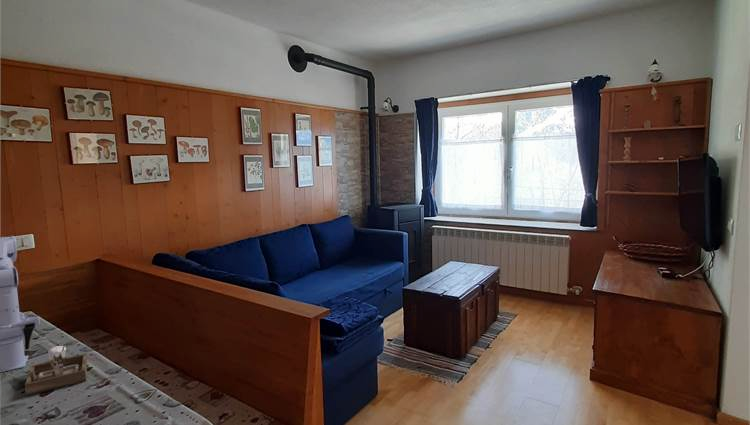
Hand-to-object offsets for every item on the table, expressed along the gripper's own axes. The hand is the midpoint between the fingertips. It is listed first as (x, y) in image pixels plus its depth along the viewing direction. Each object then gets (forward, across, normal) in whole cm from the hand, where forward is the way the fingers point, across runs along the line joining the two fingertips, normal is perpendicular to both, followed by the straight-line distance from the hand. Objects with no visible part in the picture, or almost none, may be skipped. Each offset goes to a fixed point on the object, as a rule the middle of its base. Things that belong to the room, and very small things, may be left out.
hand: (10, 351), depth 118 cm
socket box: (+10, +11, -4) cm, 16 cm away
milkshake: (+10, +11, -3) cm, 15 cm away
